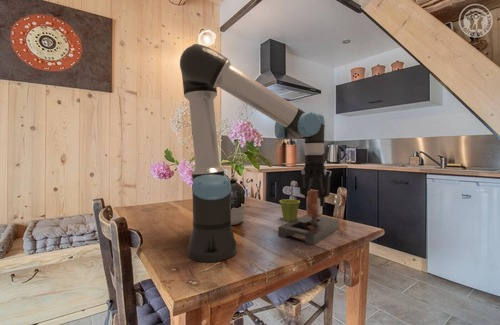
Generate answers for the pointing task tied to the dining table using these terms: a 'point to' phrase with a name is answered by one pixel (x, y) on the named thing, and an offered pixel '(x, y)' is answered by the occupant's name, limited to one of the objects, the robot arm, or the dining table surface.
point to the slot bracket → (313, 236)
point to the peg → (312, 206)
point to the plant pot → (289, 209)
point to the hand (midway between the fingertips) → (314, 213)
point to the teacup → (237, 215)
